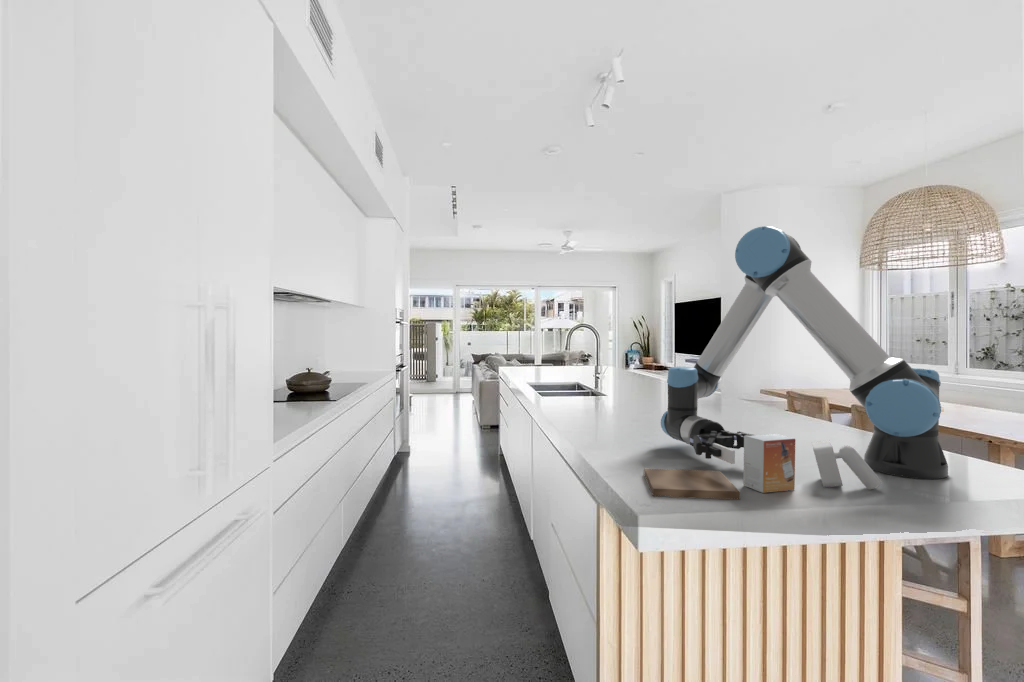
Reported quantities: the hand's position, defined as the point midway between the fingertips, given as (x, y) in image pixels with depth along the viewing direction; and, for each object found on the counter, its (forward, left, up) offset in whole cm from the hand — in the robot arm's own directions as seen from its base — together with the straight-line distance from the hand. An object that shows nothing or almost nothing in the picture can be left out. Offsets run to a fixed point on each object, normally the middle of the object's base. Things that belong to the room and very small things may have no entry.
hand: (762, 455), depth 105 cm
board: (+15, +2, -6) cm, 17 cm away
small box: (-1, +1, -7) cm, 7 cm away
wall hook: (-17, -2, -7) cm, 18 cm away
